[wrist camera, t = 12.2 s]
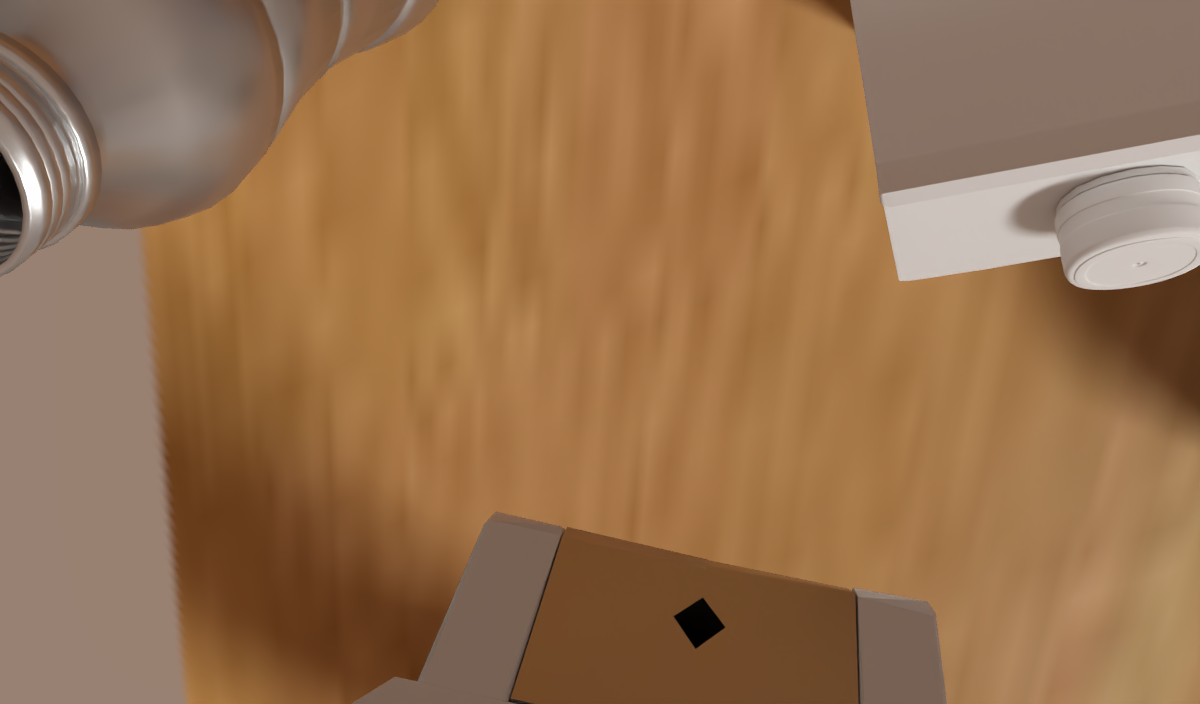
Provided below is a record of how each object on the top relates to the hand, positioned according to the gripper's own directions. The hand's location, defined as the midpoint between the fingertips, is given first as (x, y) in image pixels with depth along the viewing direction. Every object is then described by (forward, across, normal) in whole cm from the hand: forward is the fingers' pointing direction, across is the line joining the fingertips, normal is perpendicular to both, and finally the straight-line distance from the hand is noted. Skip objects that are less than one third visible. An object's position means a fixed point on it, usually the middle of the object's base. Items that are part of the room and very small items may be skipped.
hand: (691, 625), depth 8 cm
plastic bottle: (+28, +12, +1) cm, 31 cm away
